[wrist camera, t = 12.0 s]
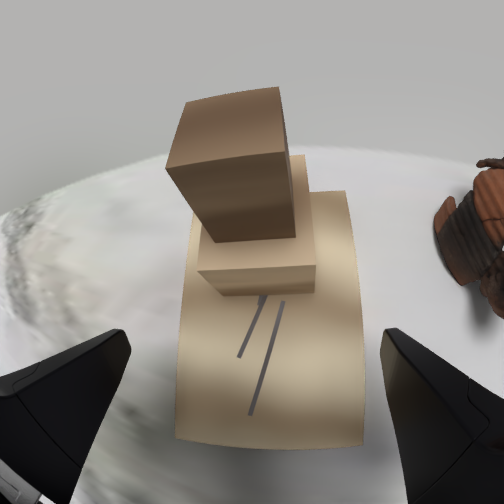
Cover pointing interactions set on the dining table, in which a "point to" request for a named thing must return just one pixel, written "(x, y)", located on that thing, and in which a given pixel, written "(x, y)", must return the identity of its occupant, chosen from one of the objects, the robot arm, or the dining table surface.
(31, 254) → the dining table surface
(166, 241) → the dining table surface
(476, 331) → the dining table surface
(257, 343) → the pine board
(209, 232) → the block
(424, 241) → the dining table surface
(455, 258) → the pottery mug
